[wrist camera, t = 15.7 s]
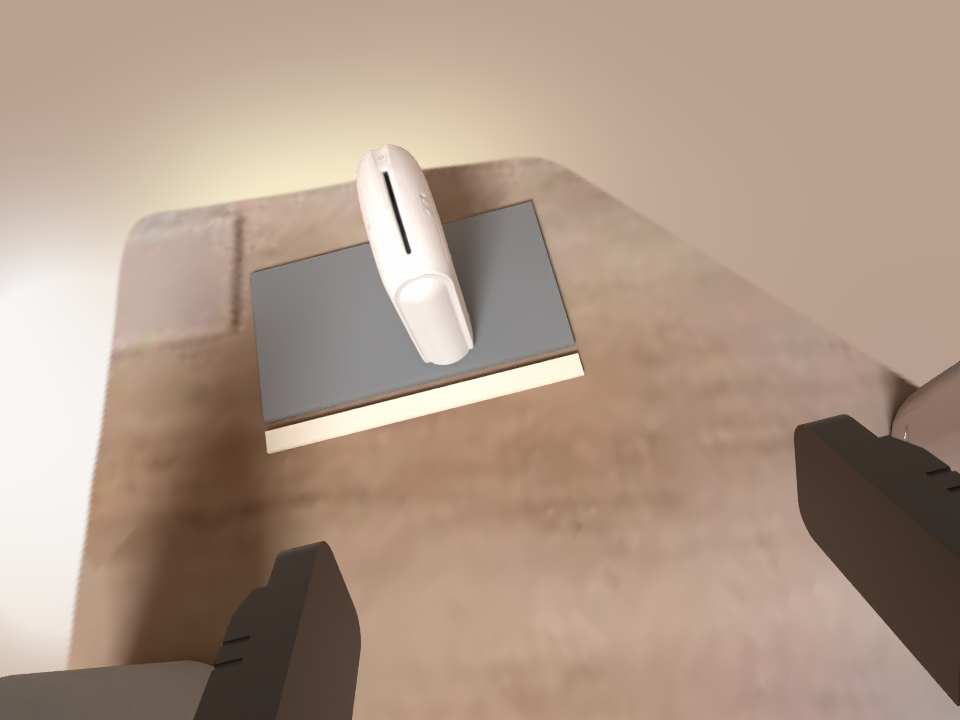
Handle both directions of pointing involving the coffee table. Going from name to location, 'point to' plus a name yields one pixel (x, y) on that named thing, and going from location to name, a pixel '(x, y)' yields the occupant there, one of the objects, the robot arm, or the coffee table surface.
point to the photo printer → (413, 254)
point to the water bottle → (107, 693)
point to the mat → (404, 331)
